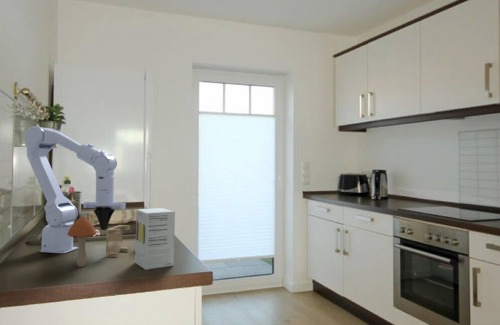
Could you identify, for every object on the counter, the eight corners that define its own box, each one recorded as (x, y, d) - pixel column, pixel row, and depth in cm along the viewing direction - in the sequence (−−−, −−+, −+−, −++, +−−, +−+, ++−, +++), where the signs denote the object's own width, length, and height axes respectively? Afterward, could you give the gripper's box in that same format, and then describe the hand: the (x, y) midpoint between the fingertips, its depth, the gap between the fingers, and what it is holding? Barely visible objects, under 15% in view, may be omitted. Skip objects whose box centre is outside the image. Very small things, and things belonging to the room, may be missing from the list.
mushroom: (77, 271, 108) (78, 219, 108) (61, 267, 112) (62, 216, 112) (101, 265, 115) (102, 216, 115) (85, 261, 119) (86, 213, 119)
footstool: (105, 256, 125) (106, 229, 125) (119, 250, 134) (119, 225, 134) (117, 257, 125) (117, 230, 125) (130, 251, 134) (130, 225, 134)
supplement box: (134, 262, 119) (135, 209, 119) (162, 258, 124) (163, 207, 124) (145, 270, 111) (146, 212, 111) (174, 265, 116) (175, 210, 116)
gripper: (130, 189, 133) (129, 228, 133) (91, 188, 135) (91, 226, 135) (120, 191, 126) (119, 231, 126) (80, 189, 128) (79, 230, 128)
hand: (104, 229), depth 130 cm, fingers closed
